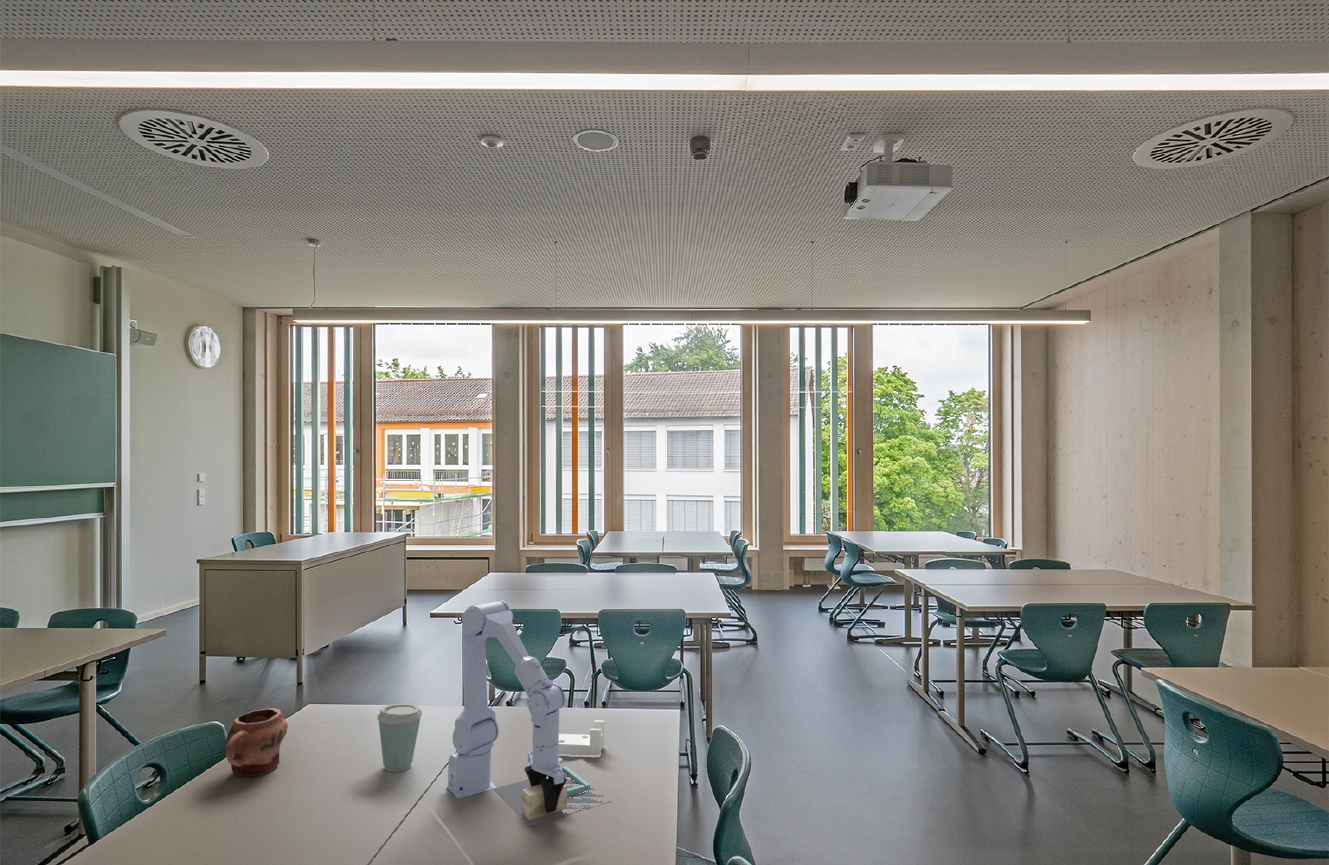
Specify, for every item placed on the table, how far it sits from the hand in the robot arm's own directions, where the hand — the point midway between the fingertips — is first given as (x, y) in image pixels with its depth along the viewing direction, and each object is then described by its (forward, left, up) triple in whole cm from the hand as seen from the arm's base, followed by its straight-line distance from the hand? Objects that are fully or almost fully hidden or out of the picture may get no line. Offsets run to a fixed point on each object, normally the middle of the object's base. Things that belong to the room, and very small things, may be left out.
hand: (544, 805), depth 154 cm
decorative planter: (-51, +59, -2) cm, 78 cm away
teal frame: (+9, +10, -2) cm, 14 cm away
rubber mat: (+4, +6, -2) cm, 8 cm away
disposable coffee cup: (-21, +43, -2) cm, 47 cm away
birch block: (0, 0, -1) cm, 1 cm away
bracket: (+22, +26, -2) cm, 34 cm away
